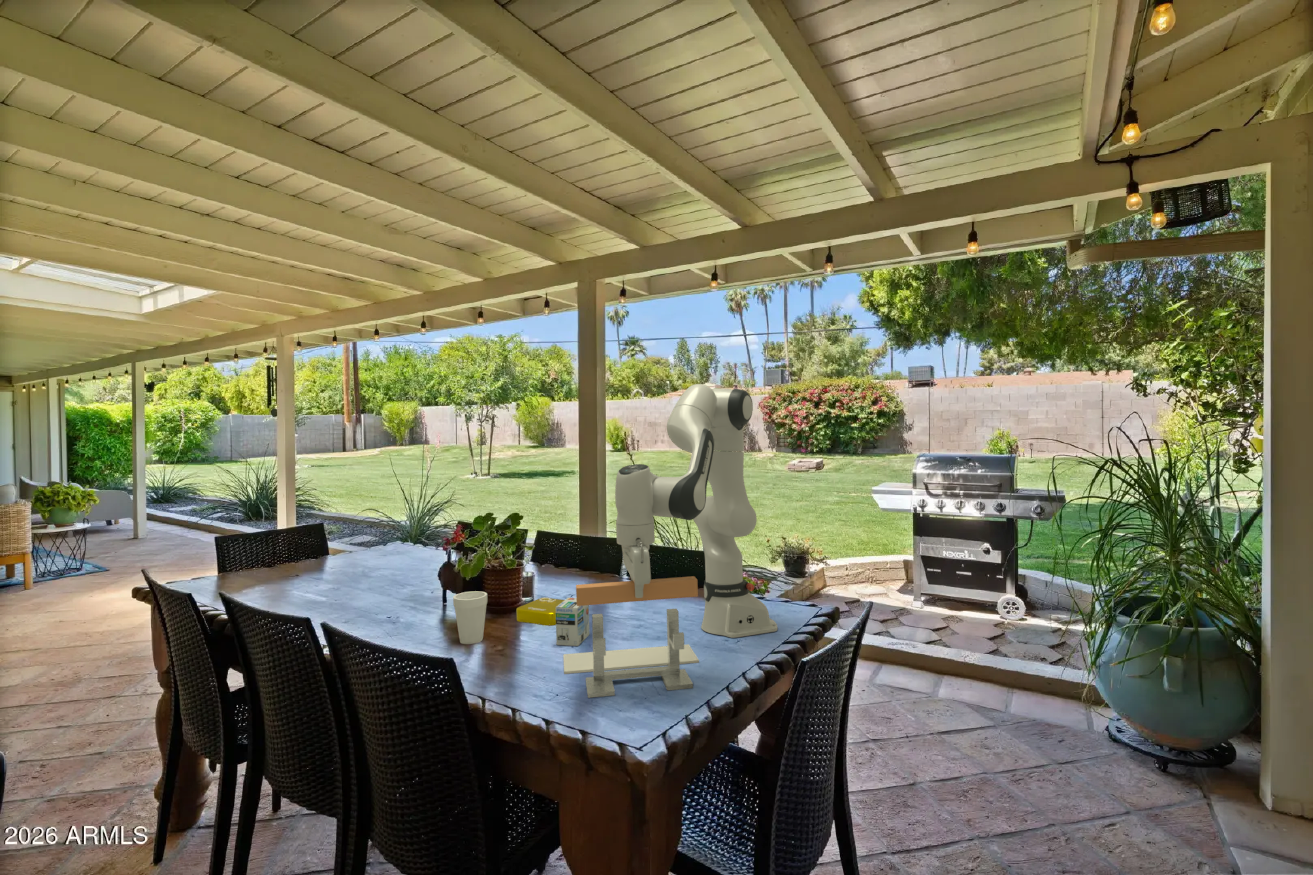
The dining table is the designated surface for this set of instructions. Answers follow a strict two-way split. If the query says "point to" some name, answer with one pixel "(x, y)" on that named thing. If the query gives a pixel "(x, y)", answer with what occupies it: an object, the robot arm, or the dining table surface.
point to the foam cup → (470, 615)
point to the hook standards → (670, 674)
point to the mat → (626, 659)
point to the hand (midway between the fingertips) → (637, 594)
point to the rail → (626, 593)
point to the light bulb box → (571, 623)
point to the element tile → (539, 611)
